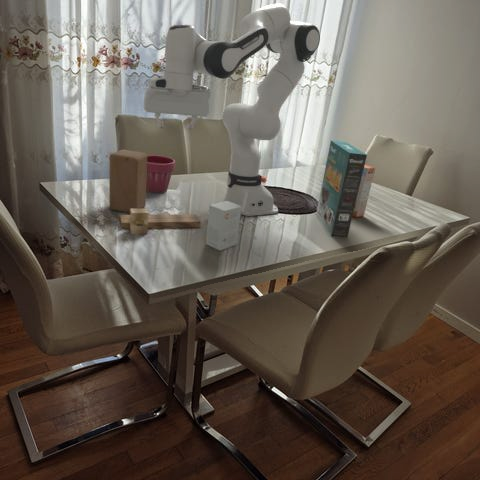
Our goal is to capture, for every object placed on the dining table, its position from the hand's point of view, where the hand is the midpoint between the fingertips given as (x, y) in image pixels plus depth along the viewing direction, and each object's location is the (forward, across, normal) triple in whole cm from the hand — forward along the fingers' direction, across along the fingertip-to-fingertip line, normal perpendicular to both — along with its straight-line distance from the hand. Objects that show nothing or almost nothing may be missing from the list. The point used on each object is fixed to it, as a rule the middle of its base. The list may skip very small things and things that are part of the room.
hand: (175, 128), depth 135 cm
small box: (+31, -12, +21) cm, 40 cm away
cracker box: (+31, -77, -7) cm, 84 cm away
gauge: (+31, +12, +7) cm, 34 cm away
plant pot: (+31, -1, -35) cm, 47 cm away
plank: (+31, +4, +3) cm, 32 cm away
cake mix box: (+31, -60, +8) cm, 68 cm away
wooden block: (+31, +13, -12) cm, 36 cm away
